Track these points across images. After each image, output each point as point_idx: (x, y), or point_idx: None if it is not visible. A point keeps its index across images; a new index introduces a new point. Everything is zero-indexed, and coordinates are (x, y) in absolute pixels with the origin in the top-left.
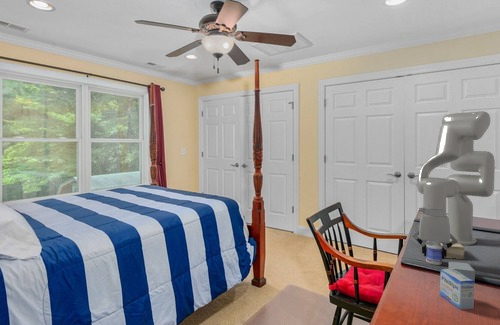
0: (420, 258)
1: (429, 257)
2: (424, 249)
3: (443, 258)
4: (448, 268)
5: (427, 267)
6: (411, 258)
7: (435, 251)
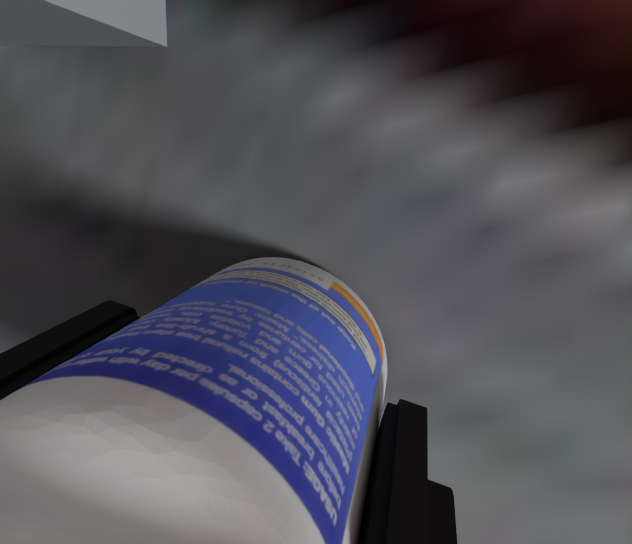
0: (432, 478)
1: (346, 333)
2: (418, 514)
3: (116, 306)
4: (136, 35)
5: (443, 141)
6: (584, 474)
7: (172, 345)
